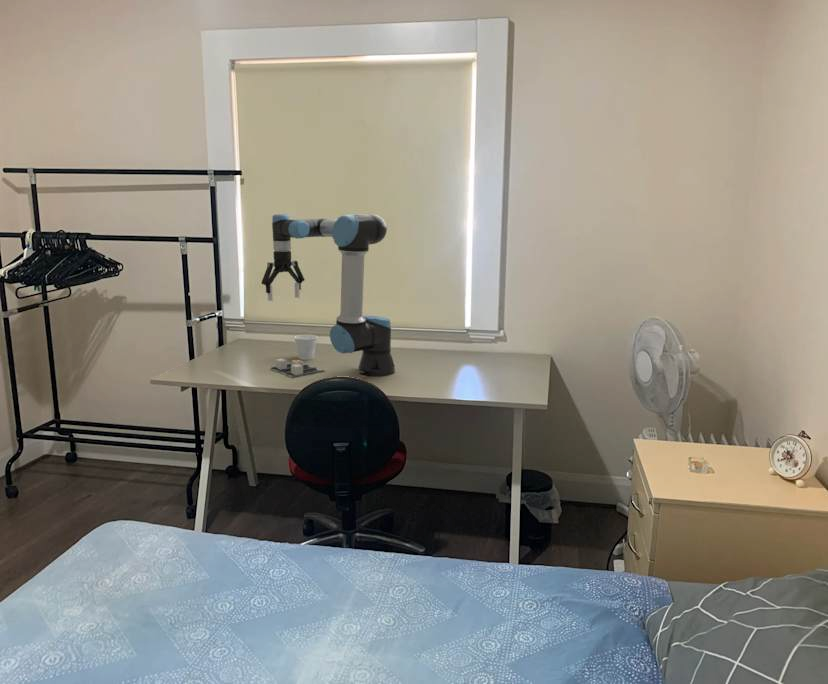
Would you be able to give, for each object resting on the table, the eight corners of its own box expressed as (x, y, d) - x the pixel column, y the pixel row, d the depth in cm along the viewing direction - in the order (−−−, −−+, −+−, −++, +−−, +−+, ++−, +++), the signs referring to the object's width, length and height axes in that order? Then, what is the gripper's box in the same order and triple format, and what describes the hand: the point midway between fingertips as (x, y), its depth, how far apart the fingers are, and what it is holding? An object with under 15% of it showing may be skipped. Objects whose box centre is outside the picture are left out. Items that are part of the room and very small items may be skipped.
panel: (326, 374, 282) (326, 369, 282) (292, 381, 272) (292, 376, 271) (302, 366, 295) (302, 361, 295) (269, 372, 285) (268, 367, 284)
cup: (320, 359, 308) (319, 334, 305) (314, 364, 298) (314, 339, 296) (298, 358, 309) (297, 334, 306) (292, 363, 299) (291, 338, 297)
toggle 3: (303, 374, 276) (302, 365, 275) (296, 375, 274) (296, 367, 273) (297, 372, 279) (297, 364, 278) (291, 373, 277) (290, 365, 276)
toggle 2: (303, 369, 283) (303, 361, 282) (297, 371, 281) (296, 362, 280) (298, 367, 286) (297, 359, 285) (291, 369, 284) (291, 360, 283)
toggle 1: (287, 368, 284) (286, 360, 284) (280, 369, 282) (280, 361, 282) (281, 366, 287) (281, 358, 286) (275, 367, 285) (275, 359, 285)
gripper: (302, 248, 311) (303, 295, 316) (252, 251, 295) (254, 300, 300) (311, 249, 306) (312, 297, 310) (260, 252, 290) (262, 302, 294)
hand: (284, 299), depth 305 cm, fingers open, 13 cm apart
